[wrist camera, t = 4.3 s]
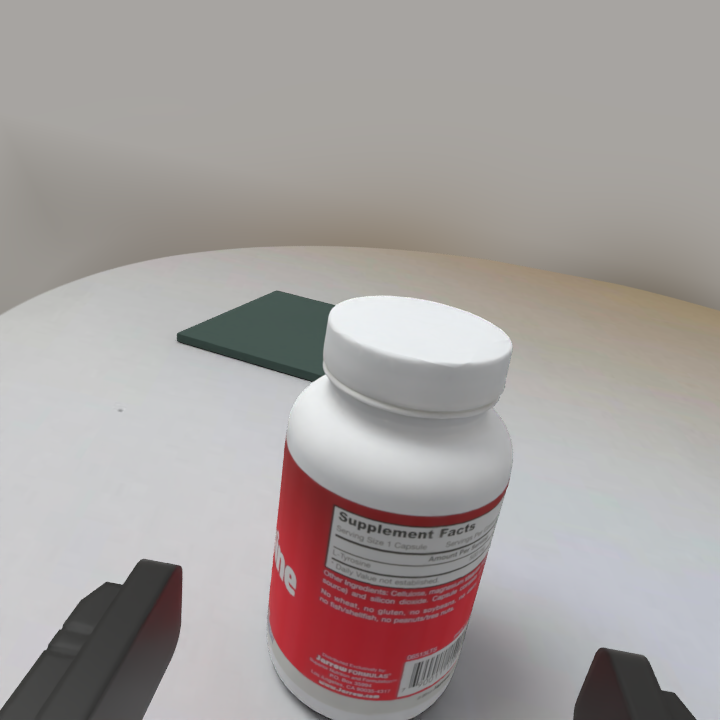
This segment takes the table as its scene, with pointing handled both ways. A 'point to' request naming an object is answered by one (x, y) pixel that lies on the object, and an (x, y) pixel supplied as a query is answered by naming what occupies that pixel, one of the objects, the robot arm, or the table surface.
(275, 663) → the pill bottle
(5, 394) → the table surface
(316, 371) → the mat
